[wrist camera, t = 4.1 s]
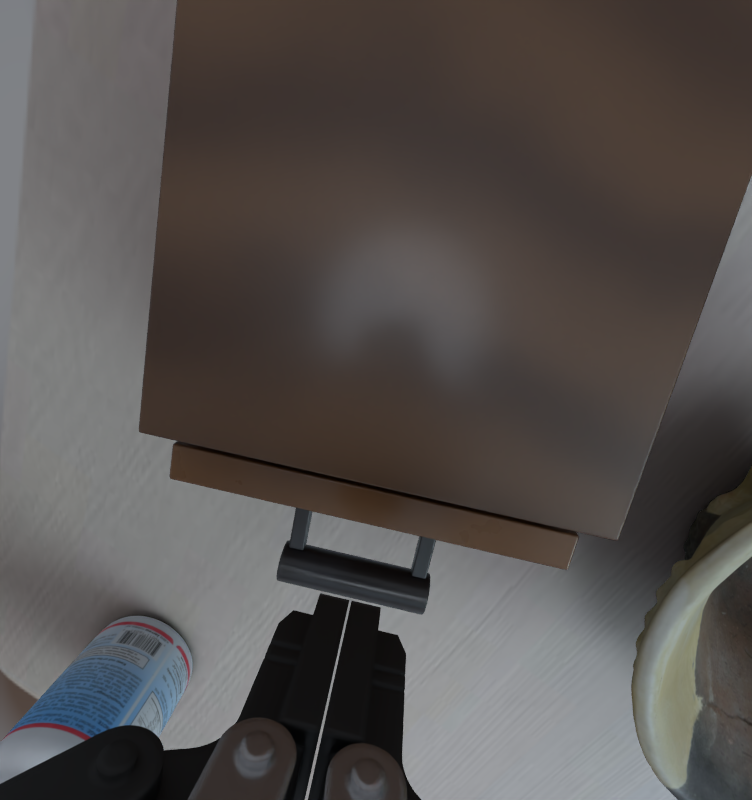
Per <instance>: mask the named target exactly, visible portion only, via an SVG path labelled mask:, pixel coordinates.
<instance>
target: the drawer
mask: <svg viewBox="0 0 752 800" xmlns="http://www.w3.org/2000/svg"><path fill="white" fill-rule="evenodd" d="M170 478H171V479H174V480H179V481H183V482H187V483H192V484H196V485H200V486H205V487H209V488H213V489H218V490H222V491H226V492H231V493H235V494H239V495H244V496H248V497H252V498H257V499H261V500H265V501H270V502H274V503H278V504H283V505H287V506H291V507H296V511H295V517H294V522H293V528H292V533H291V539H290V541H287V542H286V544H285V546H284V549H283V551H282V555H281V558H280V561H279V566H278V570H277V580H278V581H282V582H286V583H290V584H294V585H299V586H303V587H307V588H311V589H315V590H320V591H324V592H328V593H332V594H337V595H341V596H345V597H349V598H354V599H358V600H362V601H366V602H370V603H375V604H379V605H383V606H387V607H392V608H396V609H400V610H404V611H409V612H413V613H417V614H421V615H422V614H423V613H424V611H425V608H426V605H427V601H428V596H429V589H430V574H429V573H427V572H428V569H429V565H430V561H431V557H432V553H433V549H434V546H435V542H436V540H439V541H443V542H448V543H452V544H456V545H461V546H465V547H469V548H474V549H478V550H482V551H487V552H491V553H495V554H500V555H504V556H508V557H513V558H517V559H521V560H526V561H530V562H534V563H539V564H543V565H547V566H552V567H556V568H560V569H565V570H567V569H568V568H569V565H570V562H571V559H572V556H573V553H574V550H575V547H576V545H577V542H578V539H579V536H578V534H577V532H575V531H571V530H567V529H562V528H558V527H553V526H549V525H545V524H540V523H536V522H532V521H527V520H523V519H518V518H514V517H510V516H505V515H501V514H496V513H492V512H488V511H483V510H479V509H474V508H470V507H466V506H461V505H457V504H452V503H448V502H444V501H439V500H435V499H430V498H426V497H422V496H417V495H413V494H409V493H404V492H400V491H395V490H391V489H387V488H382V487H378V486H373V485H369V484H365V483H360V482H356V481H351V480H347V479H343V478H338V477H334V476H329V475H325V474H321V473H316V472H312V471H307V470H303V469H299V468H294V467H290V466H286V465H281V464H277V463H272V462H268V461H264V460H259V459H255V458H250V457H246V456H242V455H237V454H233V453H228V452H224V451H220V450H215V449H211V448H206V447H202V446H198V445H193V444H189V443H185V442H180V441H177V442H176V443H174V444H173V450H172V459H171V468H170ZM312 511H313V512H317V513H322V514H326V515H331V516H335V517H339V518H344V519H348V520H352V521H357V522H361V523H365V524H370V525H374V526H378V527H383V528H387V529H391V530H396V531H400V532H404V533H409V534H413V535H417V536H419V540H418V544H417V548H416V552H415V556H414V560H413V564H412V568H411V569H409V568H405V567H400V566H396V565H392V564H388V563H383V562H379V561H375V560H370V559H366V558H362V557H358V556H353V555H349V554H345V553H340V552H336V551H332V550H328V549H323V548H319V547H315V546H310V545H306V543H307V537H308V532H309V527H310V522H311V516H312Z"/></svg>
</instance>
